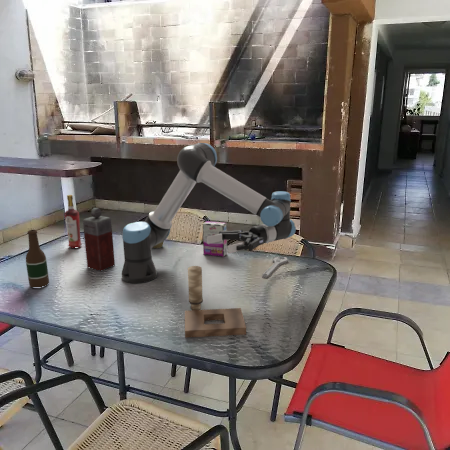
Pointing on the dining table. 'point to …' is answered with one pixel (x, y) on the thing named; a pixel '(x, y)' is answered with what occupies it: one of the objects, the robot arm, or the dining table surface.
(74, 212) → the liquor
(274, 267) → the adjustable wrench
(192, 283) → the birch peg
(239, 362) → the dining table surface
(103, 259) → the red square decanter
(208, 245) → the candy bar box
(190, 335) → the walnut board
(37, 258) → the beer bottle
